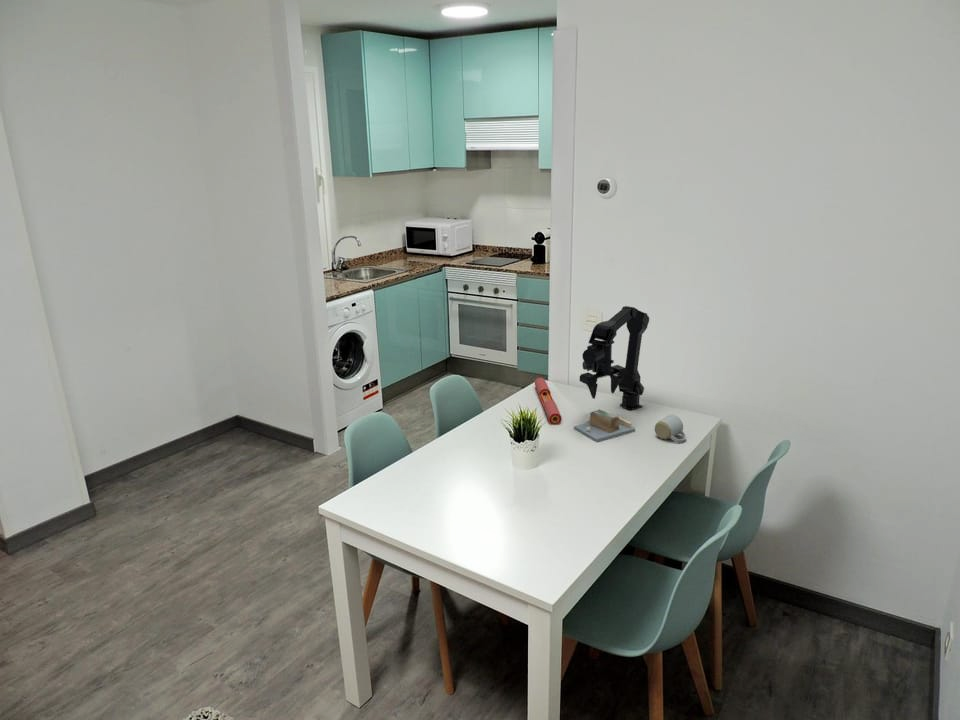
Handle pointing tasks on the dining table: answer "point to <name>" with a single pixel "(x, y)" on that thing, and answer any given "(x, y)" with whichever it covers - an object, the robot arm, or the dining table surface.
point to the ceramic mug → (670, 428)
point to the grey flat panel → (602, 435)
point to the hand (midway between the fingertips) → (603, 395)
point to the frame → (604, 421)
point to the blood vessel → (548, 401)
